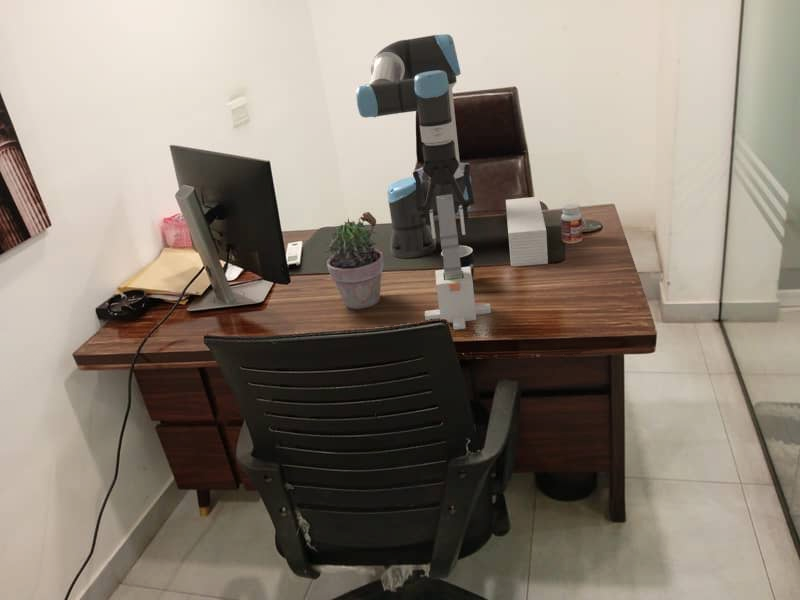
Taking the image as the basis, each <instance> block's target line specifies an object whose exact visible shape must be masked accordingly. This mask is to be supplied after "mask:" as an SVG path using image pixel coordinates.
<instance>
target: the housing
mask: <svg viewBox="0 0 800 600" xmlns="http://www.w3.org/2000/svg"><path fill="white" fill-rule="evenodd" d="M461 269H462V270H461V271H462V278H460V279H452V280H445V272H444V269H438V270H437V269H436V270H435V271H434V273H435V285H436V294H437V302H438V309H431V310H430V309H429V310H424V317H425V318H424V320H425V321H429V320H431V319H432V320H441V319H446V320H448V322H449V323H448V324H451V323H452V325H453V326H452V327H453V330H456V331H457V330H464V329H467V328H466V322H469V321H477V315H483V314H489V313H490V314H492V307H491V304H490V303H483V304H476V301H475V293H474V283H473V281H474V279H473V280H472V275H471V269H470V266H469V267H461Z"/></svg>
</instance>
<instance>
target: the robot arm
mask: <svg viewBox="0 0 800 600" xmlns="http://www.w3.org/2000/svg"><path fill="white" fill-rule="evenodd" d="M370 73H371V78H370V82H369V84H365V85H360V86H358V87H357V88H356V92H355V94H356V103H357V104H356V105H357V109H358V112H359V115H360V116H361V117H362V118H377V117H382V116H389V115H396V114H404V113H411V112H412V113H413V112H417V113H418V119H419V130H420V138H421V140H420V141H421V143H423V144H422V147H421V148H422V155H423V165H422V167H420V168H418V169H417V168H414V169H413V170H412V176H408V177H404V178H402V179H398V180H397V181H395V182H393V183H391V184H390V185H389V186H388V188H387V203H388V207H389V213H390V214H389V215H390V218H391V219H390V220H391V226H392V231H391V238H390V246H389V249H390V254H391V256H394V257H396V258H401V259H410V258H411V259H412V258H417V257H418V258H419V257H422V256H425V255H429V254H430V253H432V252H433V251H435V250H436V249H437V242H436V241H437V240H436V228H435V222H434V221H435V220H434V218H438V210H437V202H436V196H442V195H450V194H452V195H453V202H454V211H455V216H457V215H459V218H460V220H459V221H460V228H461V229H460V230H461V235H463V236H464V235H466V228H465V227H466V226H465V221H468V220H469V213H468V212H469V211H470V210H471V206H472V205H474V204H475V199H474V193H473V188H472V178H471V176H470V170H471V165H470V163H469V162H467V161H466V162H460V152H459V143H458V134H457V125H456V124H457V123H456V114H455V113H456V112H455V103H454V94H453V88H454V87H455V85H456V84H457V82H458V81H457V77H458V76H460V75H461V74H462V73H461V68H460V63H459V60H458V55H457V51H456V46H455V43H454V38H453V36H452V35H450V34H434V35H433V34H432V35H426V36H421V37H417V38H415V37H414V38H409V39H401V40H398V41H394V42H392V43H390V44H388V45H387V46H385V47H384V48H382V49H380V51H379V52H378V53H376V54H375V56H374V58H373V60H372V62H371V65H370ZM424 173H425V174H426V175H427V176H428V180H424V179H423V177H424ZM430 228H431V229H430Z"/></svg>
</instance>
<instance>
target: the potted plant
mask: <svg viewBox="0 0 800 600" xmlns="http://www.w3.org/2000/svg"><path fill="white" fill-rule="evenodd" d="M376 219H377V218H375V216H373V215H372V213H371V212H370V211H367V212H366V211H365V212H363V213H362V216H360V217H359V219H358V222H357V223H356V222H355V221H351V222H350V219H349V218H347V222H346V221H344V224H341V225H337V226H335V227H336V228H334V232H333V233H331V239H332V241H331V242H329V243H327V244H326V246H327V245H329V244H330V245H329V247H327V248H326V249H324V250H323V252H324V251H325V252H324V253H323V252H322V255H323V254H326V253H328V252H330V253H332V254H331V255H330V256H329V258H328V260H327V261H326V266H327V269H328V272H329V275H330V279H332V280H333V281H334V283H335V286H336V288H337V289H338V292H339V294H340V296H341V298H342V300H343V302H344V305H345V306H346V307H347V309H348V308H349V309H351V310H363V309H367V308H368V309H369V308H371V307H373V306H375V305H376V304H378V303H379V302H380V299H381V298H380V297H381V283H382V275H383V274H382V272H383V271H384V269H385V265H384V259H385V258H387V257H383V252H382V251H381V250H379V249H377V248H375V247H374V245H378V244H379V243H376V242H374V241H373V240H375V239H374V238H373V239H371V236H372V234H378V235H379V233H377V232H374V230H373V229H374V227H375V226H376V224H377V220H376ZM364 222H367V223H368V224H370V225H371V230H369V229H367V227H365V226H364ZM372 246H373V247H372ZM326 266H325V264H324V265H321V266H320V268H322V267H323V269H325V267H326Z"/></svg>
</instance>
